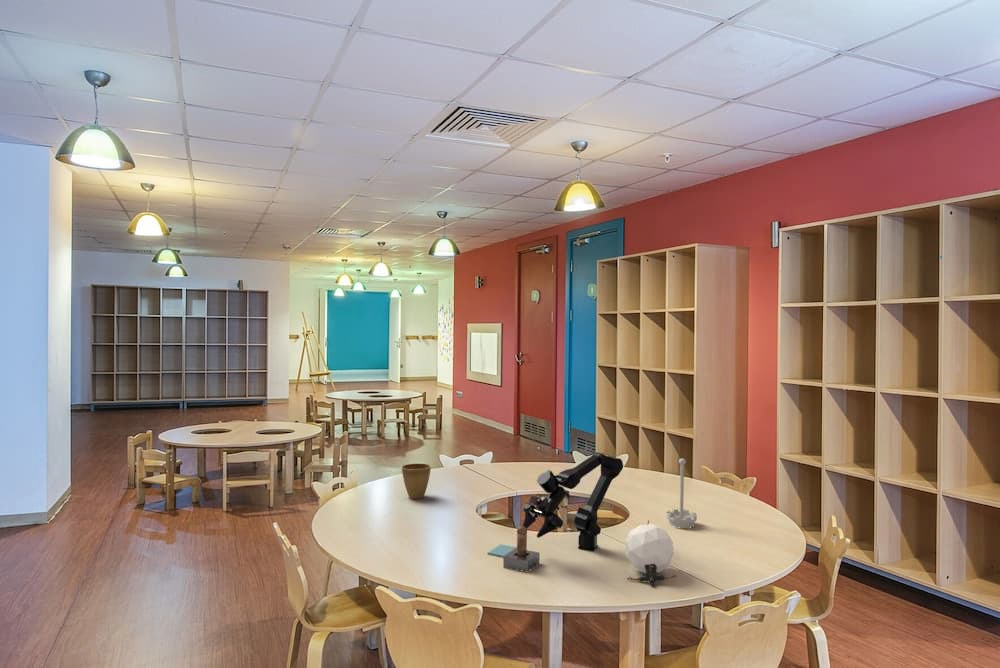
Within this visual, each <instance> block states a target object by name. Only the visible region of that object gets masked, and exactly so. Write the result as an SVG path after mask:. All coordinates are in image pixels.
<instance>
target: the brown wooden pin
mask: <svg viewBox="0 0 1000 668" xmlns="http://www.w3.org/2000/svg"><path fill="white" fill-rule="evenodd" d="M527 534H528V528H527V529H526V528H525V527H524V526H523V525H520V526H518V527H517V529H516V547H517V556H519V557H524V558H525V557H526V556H527V550H528V549H527V546H528V545H527V544H528V542H527V540H528V535H527Z"/></svg>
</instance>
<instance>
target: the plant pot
mask: <svg viewBox="0 0 1000 668" xmlns="http://www.w3.org/2000/svg"><path fill="white" fill-rule="evenodd" d="M431 469H432V466H431V464H427V463H409V464H408V463H407V464H404V465H402V466H401V473H402V477H403V482H404V487H405V490H406V493H407V495H408V498H409V499H412V500H420V499H423V498H425V494H426V491H427V488H428V484H429V480H430V476H431V475H430V474H431Z"/></svg>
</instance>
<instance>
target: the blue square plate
mask: <svg viewBox="0 0 1000 668" xmlns="http://www.w3.org/2000/svg"><path fill="white" fill-rule="evenodd" d="M515 548H517V546H511V545H507V544H501V543H500V544H498V545H497V546H496V547H495V548H493V549H491V550H490V551H489V550H488V552H486V553H487V555H489V556H495V557H500V558H503V556H505V555H506V554H508V553H509V552H510V551H512V550H513V549H515Z"/></svg>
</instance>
